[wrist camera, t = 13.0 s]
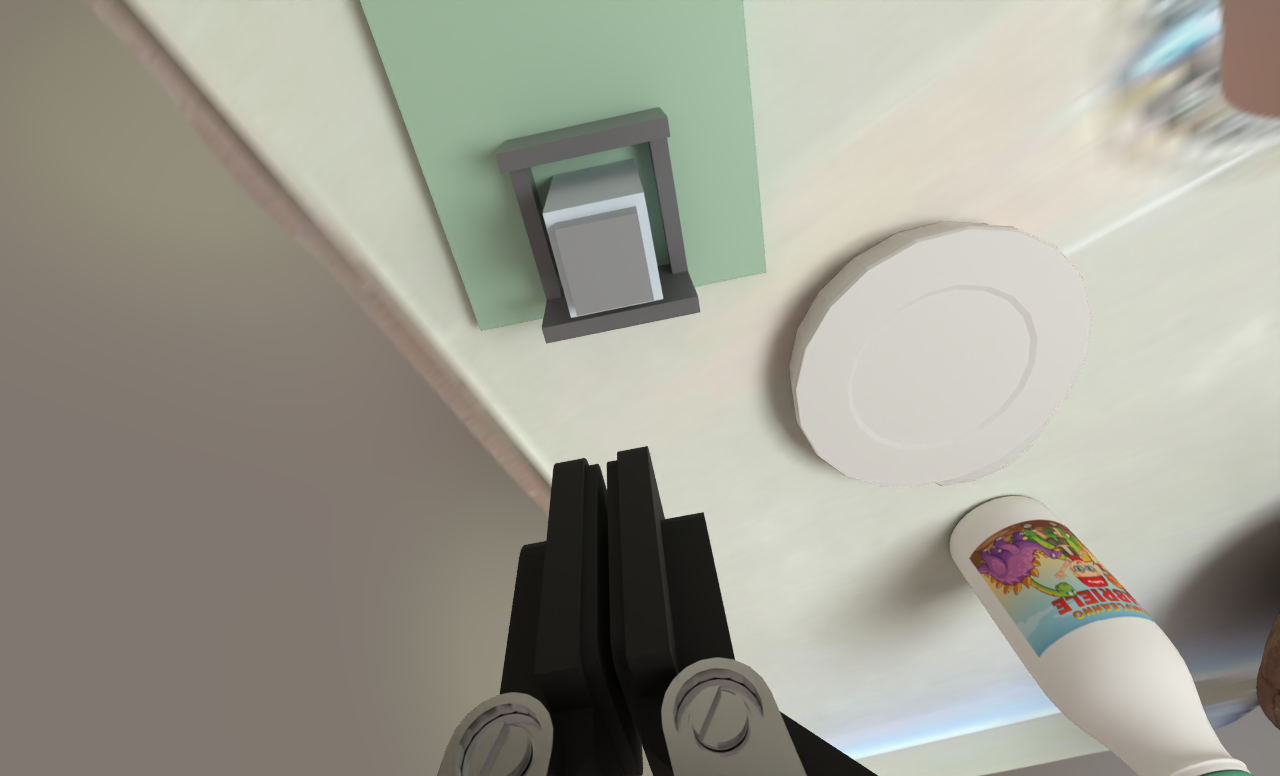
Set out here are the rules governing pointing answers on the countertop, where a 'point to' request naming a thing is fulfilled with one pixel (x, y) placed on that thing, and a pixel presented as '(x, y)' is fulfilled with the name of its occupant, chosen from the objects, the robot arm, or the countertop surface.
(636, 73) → the board
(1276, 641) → the pottery vessel
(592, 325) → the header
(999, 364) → the lid
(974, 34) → the countertop surface
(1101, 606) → the milk bottle
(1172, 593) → the countertop surface
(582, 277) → the plug
